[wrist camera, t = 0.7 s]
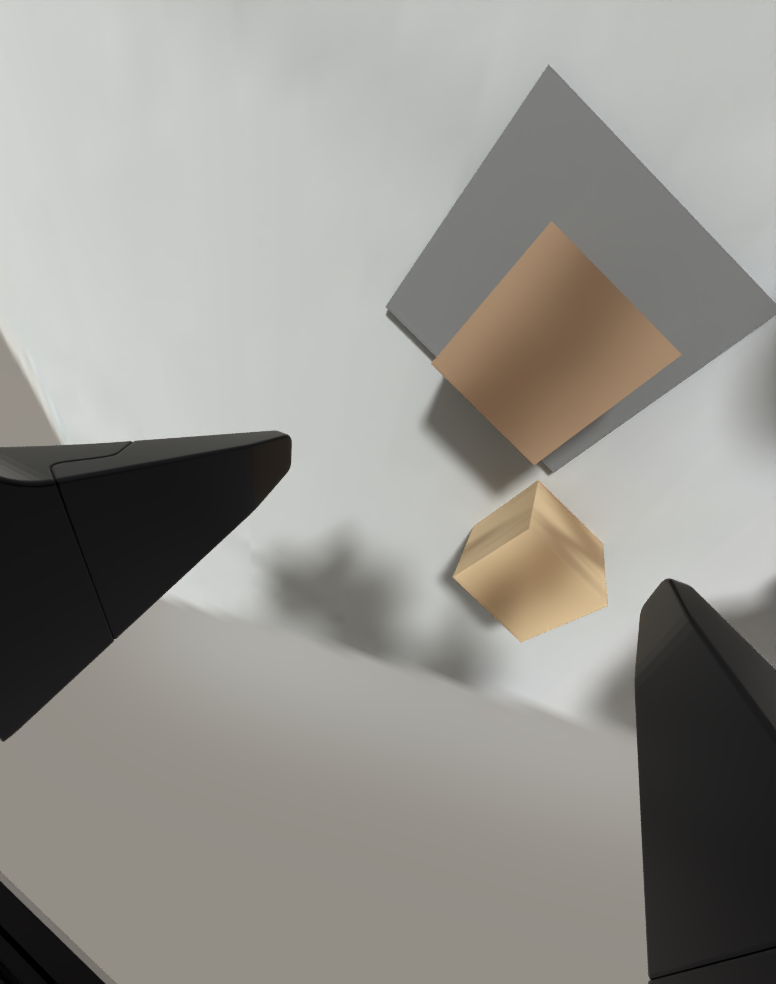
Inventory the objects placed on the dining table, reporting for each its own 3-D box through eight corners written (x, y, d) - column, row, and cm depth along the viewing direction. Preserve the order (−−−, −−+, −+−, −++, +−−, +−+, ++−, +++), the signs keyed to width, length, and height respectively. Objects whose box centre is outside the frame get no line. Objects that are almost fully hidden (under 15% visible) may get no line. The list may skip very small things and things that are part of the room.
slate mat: (777, 309, 14) (781, 310, 14) (553, 469, 20) (553, 472, 20) (549, 69, 14) (548, 64, 14) (388, 306, 20) (385, 307, 20)
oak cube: (602, 542, 21) (607, 606, 17) (530, 581, 24) (520, 642, 20) (538, 479, 21) (529, 528, 17) (473, 526, 24) (452, 577, 20)
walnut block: (661, 337, 16) (682, 354, 13) (541, 432, 19) (534, 465, 16) (557, 230, 16) (551, 220, 12) (455, 347, 19) (430, 363, 16)
